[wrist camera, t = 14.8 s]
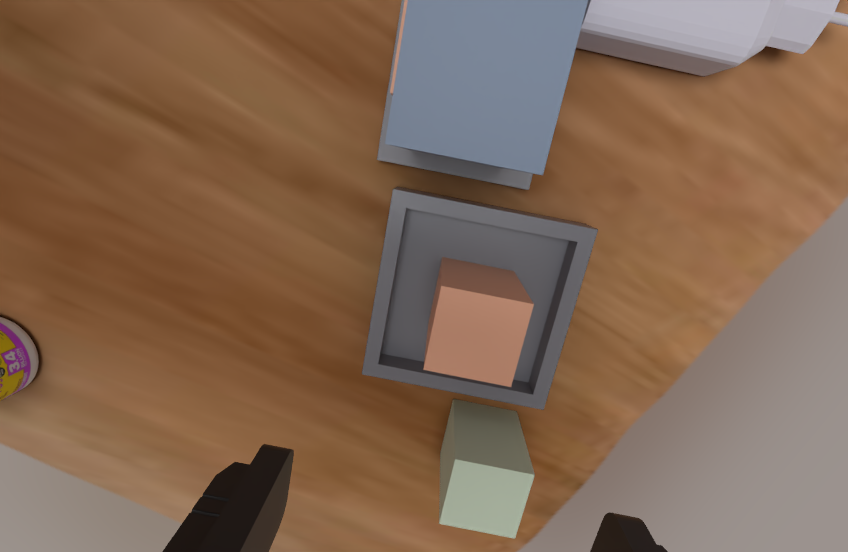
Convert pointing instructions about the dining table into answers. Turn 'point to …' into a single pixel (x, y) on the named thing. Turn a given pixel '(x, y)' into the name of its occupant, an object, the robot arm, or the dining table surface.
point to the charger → (703, 30)
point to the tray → (482, 244)
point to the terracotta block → (477, 322)
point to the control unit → (479, 86)
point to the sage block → (484, 470)
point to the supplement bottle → (15, 358)
